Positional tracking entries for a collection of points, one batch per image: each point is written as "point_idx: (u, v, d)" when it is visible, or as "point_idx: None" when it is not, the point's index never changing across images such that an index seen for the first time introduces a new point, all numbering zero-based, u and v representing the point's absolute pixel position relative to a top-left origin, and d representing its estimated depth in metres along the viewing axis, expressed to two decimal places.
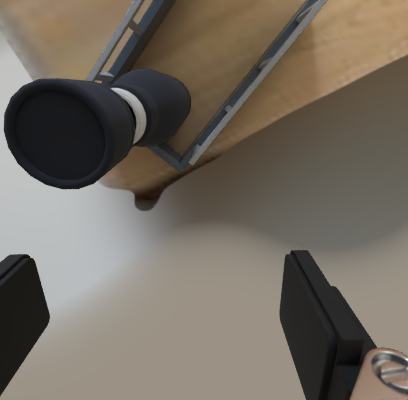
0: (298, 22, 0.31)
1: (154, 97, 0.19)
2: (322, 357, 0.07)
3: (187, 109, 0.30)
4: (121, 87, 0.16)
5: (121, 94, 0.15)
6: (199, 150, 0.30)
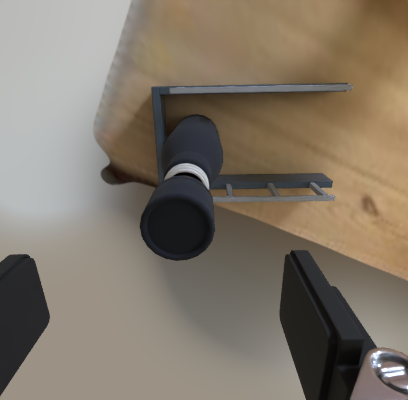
0: (309, 185, 0.41)
1: (210, 178, 0.24)
2: (322, 357, 0.07)
3: None
4: (206, 171, 0.21)
5: (205, 185, 0.20)
6: None
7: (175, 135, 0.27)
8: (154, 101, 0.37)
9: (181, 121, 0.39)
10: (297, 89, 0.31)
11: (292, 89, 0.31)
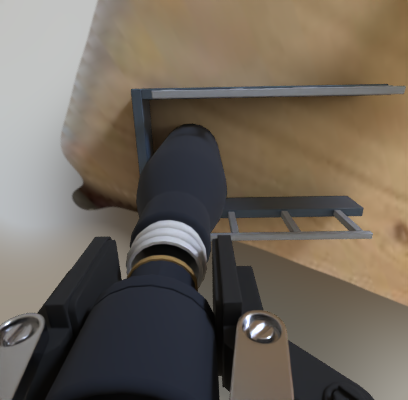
0: (333, 213, 0.32)
1: (209, 230, 0.16)
2: (215, 320, 0.08)
3: None
4: (202, 232, 0.13)
5: (201, 264, 0.11)
6: None
7: (157, 161, 0.18)
8: (135, 108, 0.28)
9: None
10: (328, 92, 0.22)
11: (321, 92, 0.22)
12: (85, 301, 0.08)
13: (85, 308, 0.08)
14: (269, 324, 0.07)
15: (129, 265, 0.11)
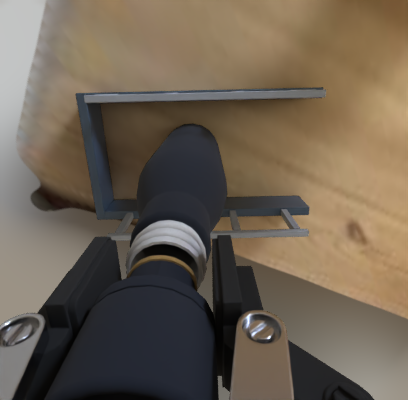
0: (280, 212, 0.33)
1: (209, 230, 0.16)
2: (215, 320, 0.08)
3: None
4: (201, 233, 0.13)
5: (201, 264, 0.11)
6: (124, 236, 0.28)
7: (157, 161, 0.18)
8: (80, 111, 0.29)
9: (171, 133, 0.30)
10: (253, 96, 0.23)
11: (246, 96, 0.23)
12: (85, 301, 0.08)
13: (85, 308, 0.08)
14: (269, 324, 0.07)
15: (129, 265, 0.11)
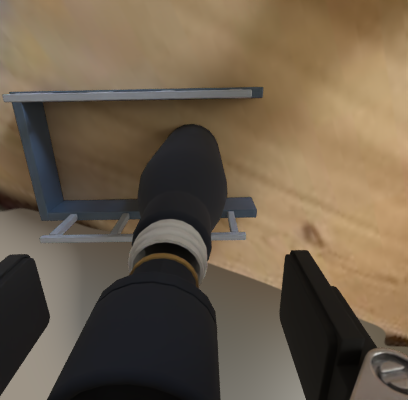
0: (227, 214, 0.32)
1: None
2: (322, 357, 0.07)
3: None
4: (202, 231, 0.13)
5: (202, 262, 0.11)
6: (57, 238, 0.27)
7: (158, 161, 0.18)
8: (16, 110, 0.28)
9: None
10: (176, 96, 0.23)
11: (169, 96, 0.23)
12: None
13: None
14: None
15: (131, 263, 0.11)
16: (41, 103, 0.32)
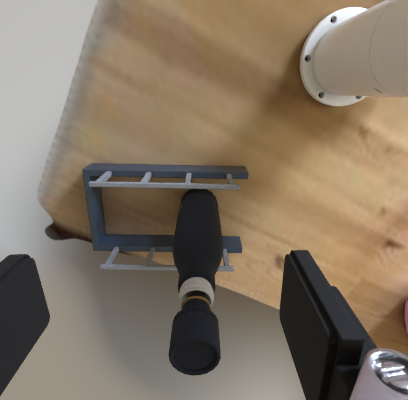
0: None
1: None
2: (322, 357, 0.07)
3: None
4: (211, 282, 0.28)
5: (211, 298, 0.26)
6: (111, 267, 0.42)
7: (185, 234, 0.33)
8: (85, 180, 0.43)
9: (186, 196, 0.45)
10: (194, 187, 0.38)
11: (190, 187, 0.38)
12: None
13: None
14: None
15: (181, 298, 0.26)
16: None
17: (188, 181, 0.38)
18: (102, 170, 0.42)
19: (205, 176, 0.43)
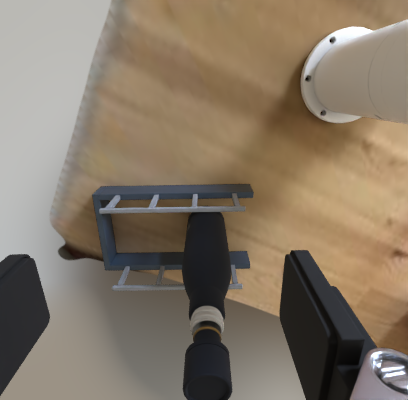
0: None
1: None
2: (322, 357, 0.07)
3: None
4: (221, 310, 0.29)
5: (222, 327, 0.27)
6: (123, 288, 0.43)
7: (194, 260, 0.34)
8: (95, 205, 0.44)
9: (194, 215, 0.47)
10: (201, 210, 0.39)
11: (197, 210, 0.39)
12: None
13: None
14: None
15: (193, 328, 0.27)
16: None
17: (195, 204, 0.39)
18: (111, 194, 0.44)
19: (211, 196, 0.44)
